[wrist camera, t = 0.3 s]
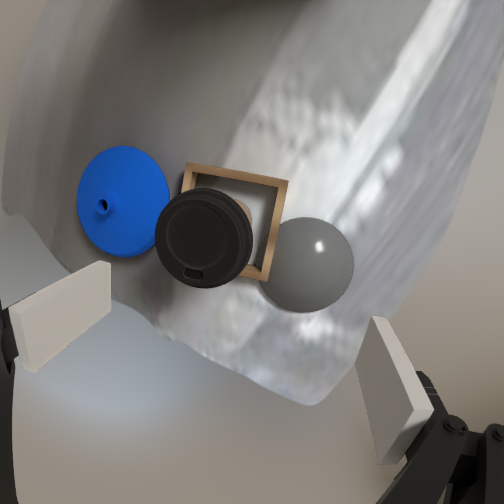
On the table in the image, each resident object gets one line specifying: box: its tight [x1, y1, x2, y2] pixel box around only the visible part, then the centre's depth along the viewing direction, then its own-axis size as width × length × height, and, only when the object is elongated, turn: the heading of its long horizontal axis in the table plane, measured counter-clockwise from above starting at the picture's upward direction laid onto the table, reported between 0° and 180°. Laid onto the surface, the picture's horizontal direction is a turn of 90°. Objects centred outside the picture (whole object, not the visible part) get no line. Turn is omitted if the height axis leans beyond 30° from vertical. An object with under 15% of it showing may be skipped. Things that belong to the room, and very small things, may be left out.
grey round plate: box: [256, 217, 354, 312], centre depth 41 cm, size 13×13×1 cm
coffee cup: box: [155, 188, 253, 288], centre depth 34 cm, size 9×9×15 cm
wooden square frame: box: [181, 163, 289, 282], centre depth 40 cm, size 13×13×2 cm
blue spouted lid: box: [77, 146, 170, 257], centre depth 39 cm, size 16×16×7 cm
